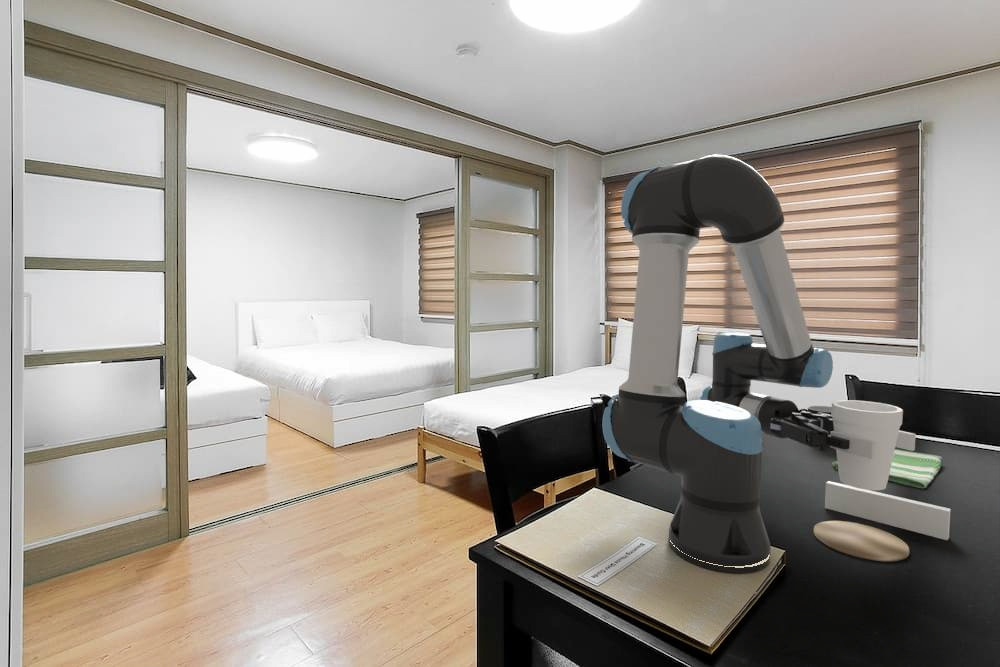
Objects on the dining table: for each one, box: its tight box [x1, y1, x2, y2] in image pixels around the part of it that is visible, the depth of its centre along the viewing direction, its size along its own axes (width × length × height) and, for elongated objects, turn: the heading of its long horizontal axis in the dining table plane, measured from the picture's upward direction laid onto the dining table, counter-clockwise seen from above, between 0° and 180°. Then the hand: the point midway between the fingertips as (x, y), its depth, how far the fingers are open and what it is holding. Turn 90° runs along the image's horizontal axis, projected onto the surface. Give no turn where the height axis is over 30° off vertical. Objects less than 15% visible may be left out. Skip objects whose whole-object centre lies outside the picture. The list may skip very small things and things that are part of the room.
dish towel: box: [831, 448, 943, 489], centre depth 122 cm, size 18×23×3 cm
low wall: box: [824, 480, 952, 541], centre depth 92 cm, size 2×18×5 cm, turn 43°
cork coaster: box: [813, 520, 910, 562], centre depth 85 cm, size 13×13×1 cm
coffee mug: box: [798, 405, 832, 449], centre depth 142 cm, size 12×9×10 cm
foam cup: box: [831, 399, 904, 491], centre depth 84 cm, size 10×9×13 cm
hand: (894, 446), depth 80 cm, fingers closed on foam cup, 9 cm apart
